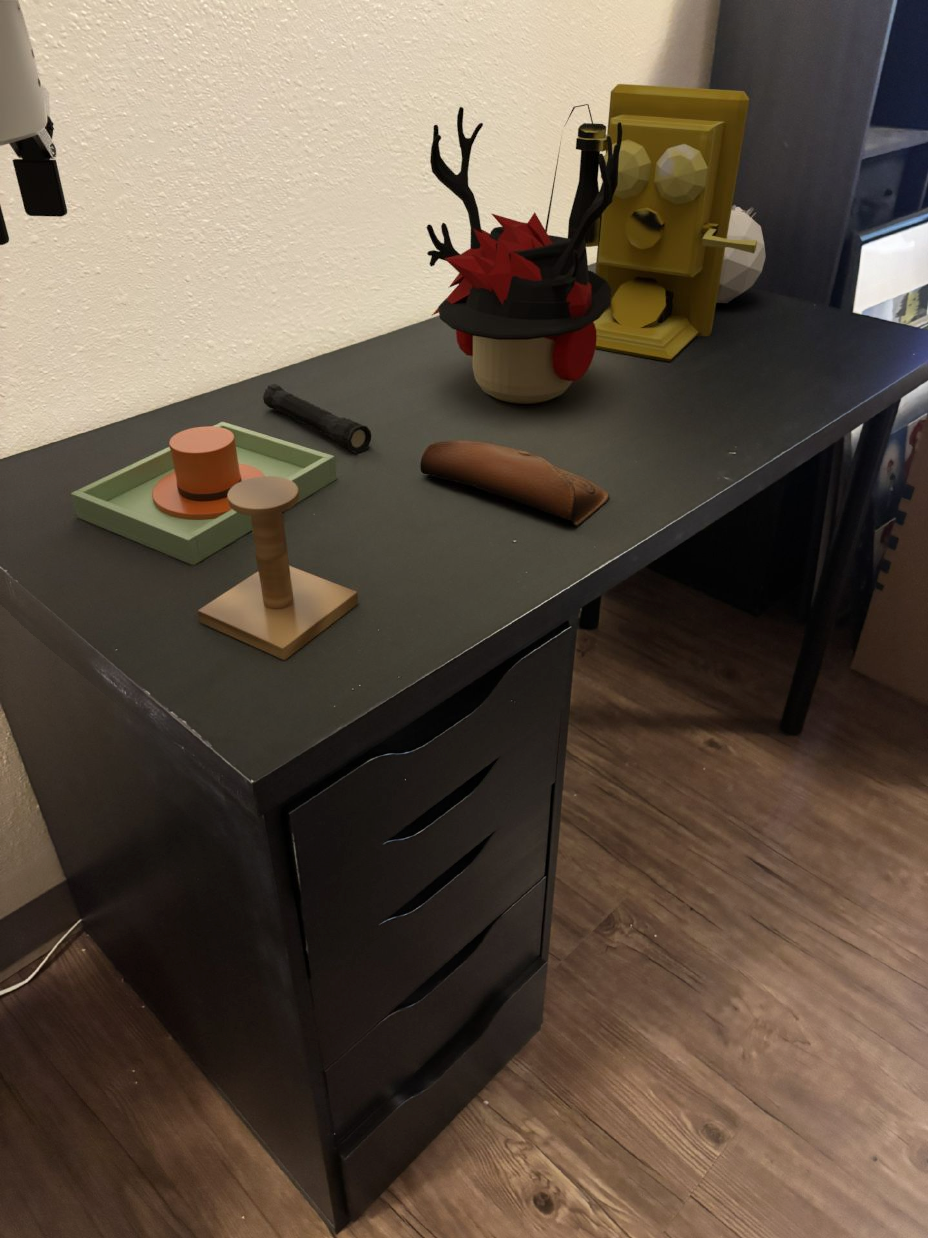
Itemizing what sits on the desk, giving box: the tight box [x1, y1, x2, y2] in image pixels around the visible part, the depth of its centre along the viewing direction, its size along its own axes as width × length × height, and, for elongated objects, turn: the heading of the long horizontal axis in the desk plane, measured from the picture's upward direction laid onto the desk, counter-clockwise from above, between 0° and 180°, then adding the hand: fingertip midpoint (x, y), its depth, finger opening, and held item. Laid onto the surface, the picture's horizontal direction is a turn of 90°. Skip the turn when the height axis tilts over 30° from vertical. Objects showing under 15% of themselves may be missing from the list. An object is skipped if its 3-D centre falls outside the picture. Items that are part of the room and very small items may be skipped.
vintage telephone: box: [544, 83, 757, 363], centre depth 119 cm, size 31×14×30 cm, turn 61°
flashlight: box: [262, 383, 372, 454], centre depth 102 cm, size 3×16×3 cm, turn 44°
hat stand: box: [197, 476, 359, 661], centre depth 70 cm, size 9×9×11 cm
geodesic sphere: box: [716, 204, 767, 304], centre depth 138 cm, size 15×14×14 cm
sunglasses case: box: [419, 440, 610, 527], centre depth 90 cm, size 18×7×7 cm
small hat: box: [152, 425, 265, 520], centre depth 88 cm, size 11×11×6 cm
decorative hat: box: [426, 106, 622, 405], centre depth 103 cm, size 23×21×30 cm
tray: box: [70, 421, 337, 566], centre depth 89 cm, size 20×16×3 cm
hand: (18, 228), depth 68 cm, fingers open, 9 cm apart
